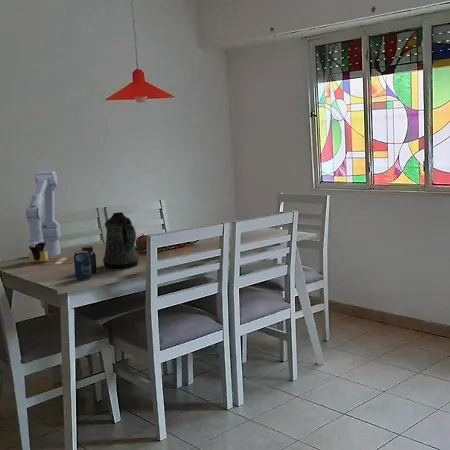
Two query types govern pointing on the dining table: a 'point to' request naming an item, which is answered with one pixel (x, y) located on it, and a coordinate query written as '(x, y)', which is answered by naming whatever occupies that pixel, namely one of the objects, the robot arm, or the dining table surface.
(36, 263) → the board
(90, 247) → the supplement bottle
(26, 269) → the dining table surface
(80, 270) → the soda can
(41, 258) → the block
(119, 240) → the beer stein
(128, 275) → the dining table surface
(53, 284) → the dining table surface
